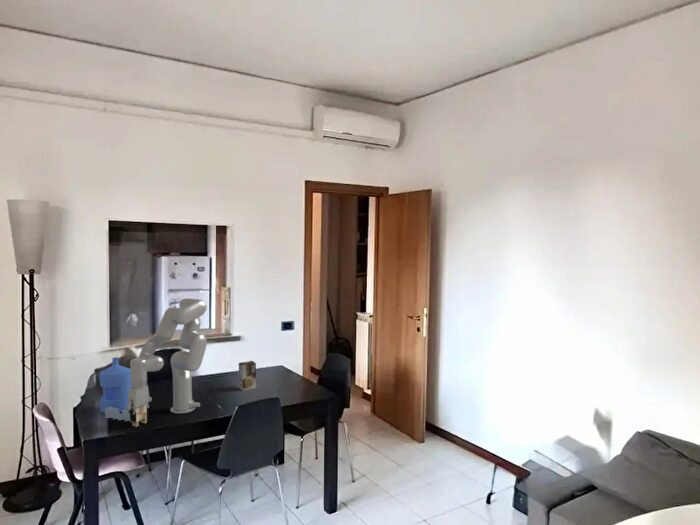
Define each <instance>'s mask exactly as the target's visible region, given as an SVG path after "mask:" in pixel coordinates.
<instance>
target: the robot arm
mask: <svg viewBox="0 0 700 525" xmlns="http://www.w3.org/2000/svg"><path fill="white" fill-rule="evenodd" d="M178 305H179V307H176V306H175V307H168V308H167V309H166V310H165V311H164V313H163V315H162V318H161V320H160V323H159V325H158V327H157V330H156V331H155V333H154V334H153V335H152V336H151V337H150V338H149V339H148V340H147V341H146V342H145V343H144V345H143V346H142V348H141V350H140V352H139V355H138V357H136V358H132V359H130V362H129V363H130V364H129V366H130V367H129V369H130V377H131V387H130V388H129V394H128V405H127V406H126V410H127V411H128V412H129V414H130V421H132V422H136V414H135V412H136V409H137V408H139V407H141V406H143V405H147V417H149V416H150V415H149V408H150V405H151V402H152V400H153V398H152V397H151V396H150V392H149V390H150V389H149V385H148V372H157V371H160V370H161V369H162V368H163V367H164V365H165V362H164V359H163V358H162V357H161V356H158V355H154V354H155V352H156V351H157V349H158V348H159V347H160V346H162V345H164V344H166V343H168V342H169V341H171V340H172V339H173V337H174V334H175V332H176V330H177V328H178V325H183V328H182V331H181V334H180V338H179V341H178V344H179V347H181V349H184V350H189V351H183V350H179V351H176V352H174V353H173V354H172V355H171V358H170V367H171V371H172V394H173V395H172V398H173V399H172V400H173V401H172V402H173V404H172V405H173V406H172V407H171V408H170V413H173V414H186V413H191V412H193V411H194V410H195V409H196V408H200V407H201V403H200V402H196V401H194V399H193V390H192V389H193V388H192V386H193V385H192V384H193V383H192V380H193V379H192V378H193V377H192V372H197V371H198V370H199V369H200V367H201V365H202V363H203V360H204V356H205V351H206V350H207V349H206V348H207V345H208V344H207V343H208V341H207V340H208V339H207V337H206V336H205V335H204V334H203V333H201V332H200V328H201V322H202V321H201V316H203V315H204V314H206V311H207V309H208V308H207V306H208V305H207V302H205V301H204V300H203V299H198V298H183V299H182V300H180V301H179V304H178ZM130 407H131V408H130ZM133 409H134V410H133ZM132 422H131V423H132Z"/></svg>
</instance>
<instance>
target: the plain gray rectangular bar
mask: <svg viewBox="0 0 700 525" xmlns="http://www.w3.org/2000/svg"><path fill="white" fill-rule="evenodd" d="M108 418H113V419H112V420H115V419H118V420H117V421H121V420H125V421H124V422H127V421H130V414H129V412H128V411H127V410H126V409H125V410H123V411H122V412H121V413H119V408H113V407H107V408H105V413H104V419H108ZM129 423H132V421H130V422H129Z"/></svg>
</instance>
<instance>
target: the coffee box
mask: <svg viewBox="0 0 700 525" xmlns="http://www.w3.org/2000/svg"><path fill="white" fill-rule="evenodd" d="M238 387H239V389H240V391H243V392H245V391H248V390H255V389H257V363H256V362H255V361H253V360H249V361H243V362H242V361H241V362H238Z"/></svg>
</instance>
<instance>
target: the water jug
mask: <svg viewBox="0 0 700 525" xmlns="http://www.w3.org/2000/svg"><path fill="white" fill-rule="evenodd" d="M119 359H120V358H119V356H118V357H112V358H111V360H112V361H111V364H112V365H111V366H109V367H107V368H105V369H103V370H102V371H100V372H99V385H100V387H102V393H103V394H102V396H101V397H100V408H99V409H100V412H101V413H103V414H105V408H107V407H113V408H119V413H120V412H121V413H122V411H123V410H125V409H126V406H127V405H128V394H129V388H130V387H131V377H130V367H127V366H123V365H120V364H119V362H120V360H119ZM130 408H131V407H130Z"/></svg>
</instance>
